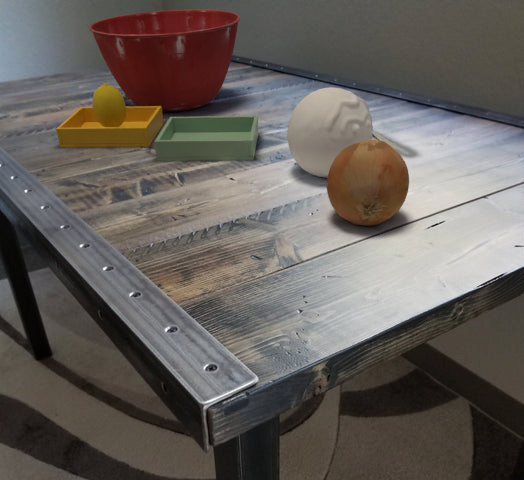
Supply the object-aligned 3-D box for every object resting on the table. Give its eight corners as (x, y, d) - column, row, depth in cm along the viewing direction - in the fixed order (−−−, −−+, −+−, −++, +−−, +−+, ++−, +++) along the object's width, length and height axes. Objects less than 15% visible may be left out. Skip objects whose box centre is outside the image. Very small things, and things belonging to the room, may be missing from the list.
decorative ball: (335, 197, 79) (340, 105, 72) (270, 177, 86) (269, 91, 78) (385, 172, 86) (393, 86, 79) (321, 155, 92) (324, 74, 85)
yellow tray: (60, 150, 98) (55, 128, 96) (84, 126, 109) (80, 107, 107) (149, 149, 97) (146, 127, 95) (164, 125, 108) (161, 106, 106)
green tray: (157, 163, 92) (154, 141, 89) (172, 137, 102) (169, 116, 100) (253, 162, 91) (252, 140, 89) (258, 136, 101) (257, 115, 99)
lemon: (135, 131, 102) (127, 82, 97) (107, 138, 99) (98, 88, 94) (119, 125, 105) (111, 77, 101) (92, 131, 103) (82, 83, 98)
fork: (401, 159, 90) (402, 148, 89) (330, 119, 108) (331, 109, 107) (418, 156, 91) (420, 145, 90) (346, 117, 109) (346, 107, 108)
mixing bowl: (122, 134, 104) (106, 37, 95) (92, 98, 125) (76, 16, 116) (265, 112, 113) (263, 22, 104) (214, 82, 134) (209, 4, 125)
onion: (390, 203, 77) (399, 125, 71) (415, 236, 69) (427, 152, 63) (318, 208, 76) (321, 130, 70) (335, 242, 68) (339, 157, 62)
